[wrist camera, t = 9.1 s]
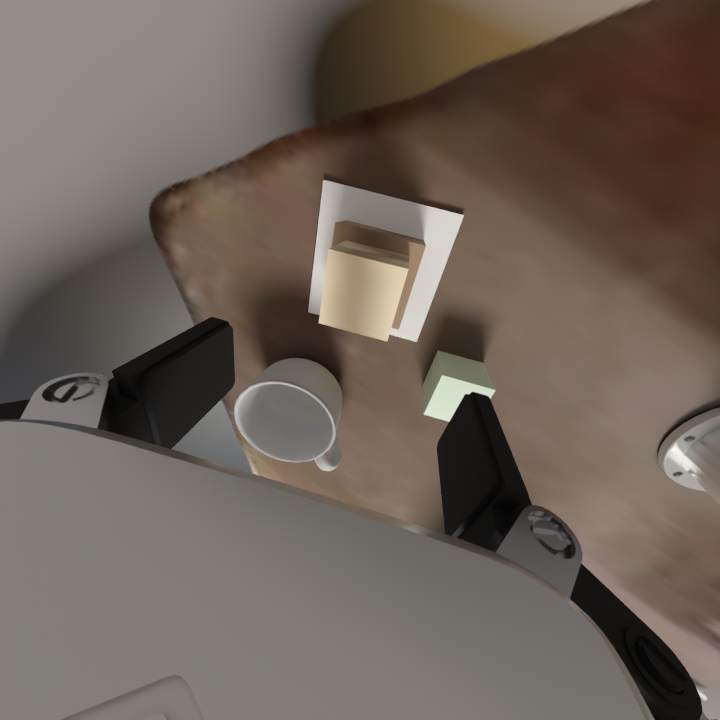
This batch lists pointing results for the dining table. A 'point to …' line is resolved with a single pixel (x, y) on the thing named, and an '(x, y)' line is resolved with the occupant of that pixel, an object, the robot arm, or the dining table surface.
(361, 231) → the walnut base brick
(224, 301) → the dining table surface
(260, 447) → the teacup
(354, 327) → the maple block
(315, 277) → the white mat
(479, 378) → the sage block
